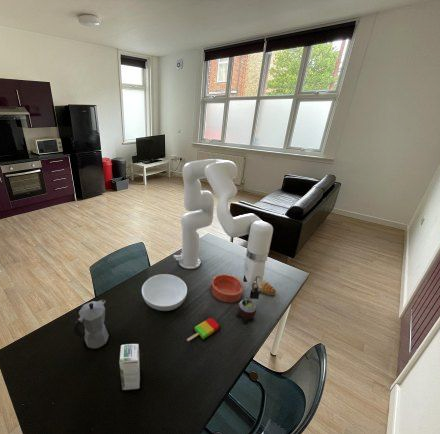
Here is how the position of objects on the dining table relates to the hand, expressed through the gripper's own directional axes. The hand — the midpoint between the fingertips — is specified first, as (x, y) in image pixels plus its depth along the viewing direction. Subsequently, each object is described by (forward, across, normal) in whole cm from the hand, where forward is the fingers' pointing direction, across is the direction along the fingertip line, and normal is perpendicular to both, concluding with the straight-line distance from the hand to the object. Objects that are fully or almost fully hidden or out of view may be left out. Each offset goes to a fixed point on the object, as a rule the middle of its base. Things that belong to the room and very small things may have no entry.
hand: (250, 289), depth 96 cm
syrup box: (+16, +28, -44) cm, 55 cm away
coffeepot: (+16, +14, -61) cm, 65 cm away
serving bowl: (+16, -8, -35) cm, 39 cm away
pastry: (+16, -18, +14) cm, 28 cm away
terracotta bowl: (+15, -16, -5) cm, 22 cm away
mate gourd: (+16, 0, 0) cm, 16 cm away
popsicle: (+16, +8, -19) cm, 26 cm away
